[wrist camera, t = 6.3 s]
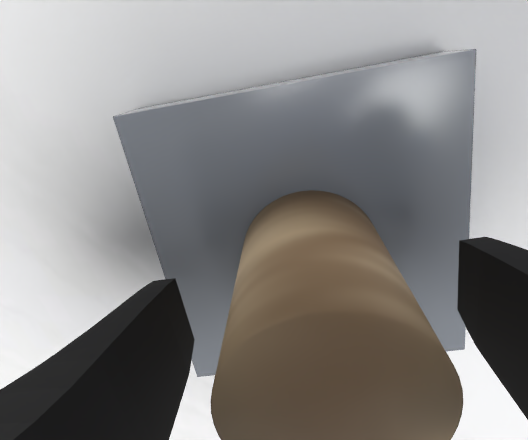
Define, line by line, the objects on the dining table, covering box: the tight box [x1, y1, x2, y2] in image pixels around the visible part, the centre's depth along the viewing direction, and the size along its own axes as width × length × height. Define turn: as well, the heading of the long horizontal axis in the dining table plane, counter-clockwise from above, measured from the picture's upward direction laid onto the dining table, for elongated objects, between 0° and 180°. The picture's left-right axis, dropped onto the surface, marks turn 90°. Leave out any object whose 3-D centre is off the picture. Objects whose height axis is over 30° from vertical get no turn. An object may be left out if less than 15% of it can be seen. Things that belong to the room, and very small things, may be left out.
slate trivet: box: [113, 49, 476, 377], centre depth 13 cm, size 10×10×2 cm
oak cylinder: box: [211, 190, 463, 440], centre depth 9 cm, size 4×4×6 cm
